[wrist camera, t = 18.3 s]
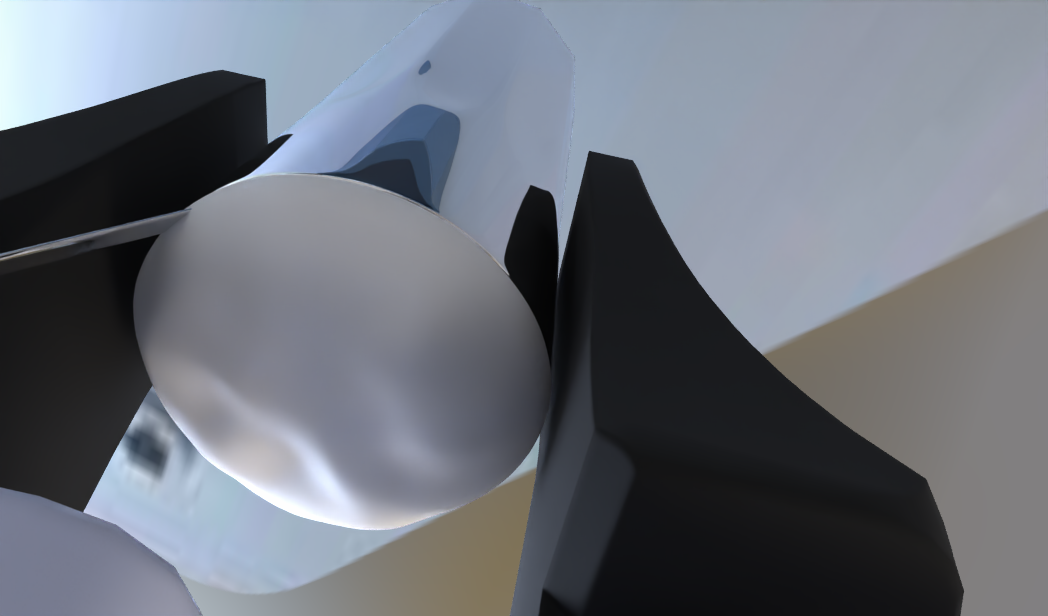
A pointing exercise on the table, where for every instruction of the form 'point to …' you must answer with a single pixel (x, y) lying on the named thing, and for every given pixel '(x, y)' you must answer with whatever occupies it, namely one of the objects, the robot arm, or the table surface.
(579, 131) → the table surface
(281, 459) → the milkshake
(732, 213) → the table surface
